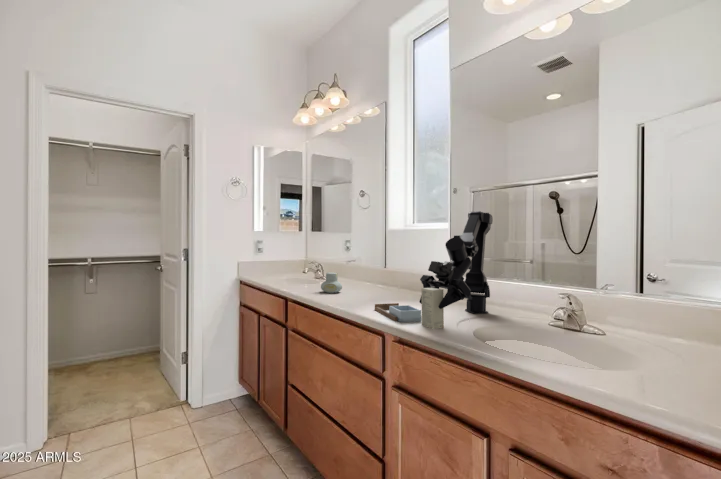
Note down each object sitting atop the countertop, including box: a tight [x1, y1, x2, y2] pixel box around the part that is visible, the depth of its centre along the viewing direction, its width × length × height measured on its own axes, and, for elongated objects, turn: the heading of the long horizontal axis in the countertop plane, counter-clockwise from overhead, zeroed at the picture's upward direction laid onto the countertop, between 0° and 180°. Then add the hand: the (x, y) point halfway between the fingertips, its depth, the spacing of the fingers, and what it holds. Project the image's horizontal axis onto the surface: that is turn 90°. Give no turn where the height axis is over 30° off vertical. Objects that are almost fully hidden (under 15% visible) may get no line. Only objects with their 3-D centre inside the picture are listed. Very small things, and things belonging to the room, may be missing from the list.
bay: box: [374, 302, 400, 322], centre depth 129 cm, size 10×20×2 cm, turn 18°
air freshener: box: [320, 272, 343, 294], centre depth 180 cm, size 11×8×10 cm
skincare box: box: [421, 287, 445, 330], centre depth 112 cm, size 6×4×12 cm
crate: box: [388, 304, 422, 323], centre depth 122 cm, size 8×10×4 cm
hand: (429, 305), depth 111 cm, fingers open, 9 cm apart
